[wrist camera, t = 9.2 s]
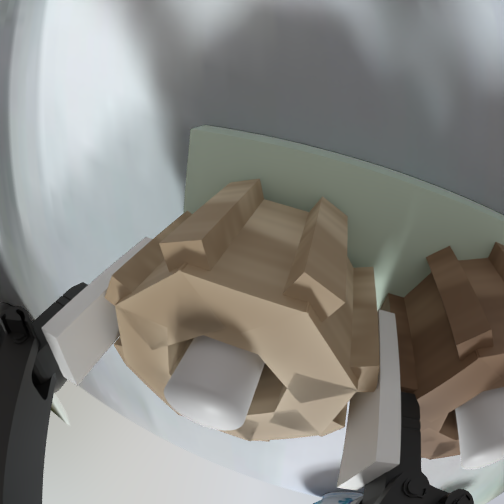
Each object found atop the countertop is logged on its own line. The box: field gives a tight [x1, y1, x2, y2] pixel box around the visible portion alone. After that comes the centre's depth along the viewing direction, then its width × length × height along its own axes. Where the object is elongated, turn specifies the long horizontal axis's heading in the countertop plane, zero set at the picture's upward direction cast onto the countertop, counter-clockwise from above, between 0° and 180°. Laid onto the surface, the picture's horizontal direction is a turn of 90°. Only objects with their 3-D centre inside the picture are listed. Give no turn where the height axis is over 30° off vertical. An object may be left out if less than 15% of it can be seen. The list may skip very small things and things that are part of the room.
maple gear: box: [105, 179, 379, 442], centre depth 12 cm, size 10×10×6 cm
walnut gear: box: [380, 242, 504, 460], centre depth 11 cm, size 10×10×6 cm
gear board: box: [164, 125, 504, 469], centre depth 11 cm, size 21×12×10 cm, turn 81°
